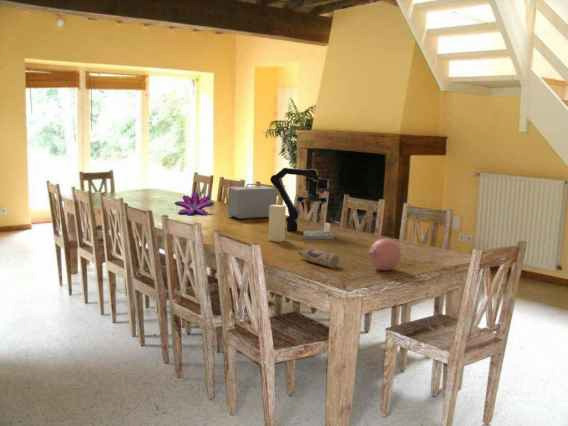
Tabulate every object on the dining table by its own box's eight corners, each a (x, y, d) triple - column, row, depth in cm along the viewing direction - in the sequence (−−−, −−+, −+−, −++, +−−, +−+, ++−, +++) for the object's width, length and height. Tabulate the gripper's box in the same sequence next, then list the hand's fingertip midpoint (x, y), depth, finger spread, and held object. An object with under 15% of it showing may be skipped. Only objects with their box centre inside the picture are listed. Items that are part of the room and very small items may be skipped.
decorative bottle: (340, 267, 291) (340, 253, 290) (329, 269, 286) (329, 255, 285) (304, 257, 310) (305, 244, 309) (294, 258, 306) (294, 246, 304)
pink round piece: (354, 269, 287) (356, 238, 284) (384, 264, 298) (386, 235, 295) (376, 276, 274) (378, 244, 272) (406, 271, 285) (408, 240, 283)
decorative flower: (213, 222, 436) (212, 211, 430) (172, 224, 437) (170, 213, 431) (217, 200, 461) (215, 189, 456) (178, 202, 462) (176, 191, 456)
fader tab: (324, 234, 365) (324, 224, 364) (323, 232, 370) (323, 223, 369) (330, 234, 365) (330, 224, 364) (329, 232, 370) (330, 223, 369)
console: (304, 238, 359) (304, 233, 359) (303, 233, 375) (303, 229, 375) (333, 239, 360) (333, 234, 359) (331, 234, 375) (331, 230, 375)
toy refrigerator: (285, 239, 354) (286, 205, 350) (280, 242, 347) (281, 206, 344) (273, 238, 357) (274, 204, 354) (268, 240, 350) (268, 205, 347)
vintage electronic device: (264, 214, 450) (265, 181, 446) (276, 217, 435) (277, 184, 431) (226, 216, 434) (227, 182, 430) (237, 220, 419) (238, 185, 415)
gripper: (298, 189, 370) (296, 213, 373) (327, 190, 370) (326, 215, 373) (297, 187, 381) (296, 211, 384) (326, 188, 381) (325, 212, 384)
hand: (311, 212), depth 381 cm, fingers open, 9 cm apart
